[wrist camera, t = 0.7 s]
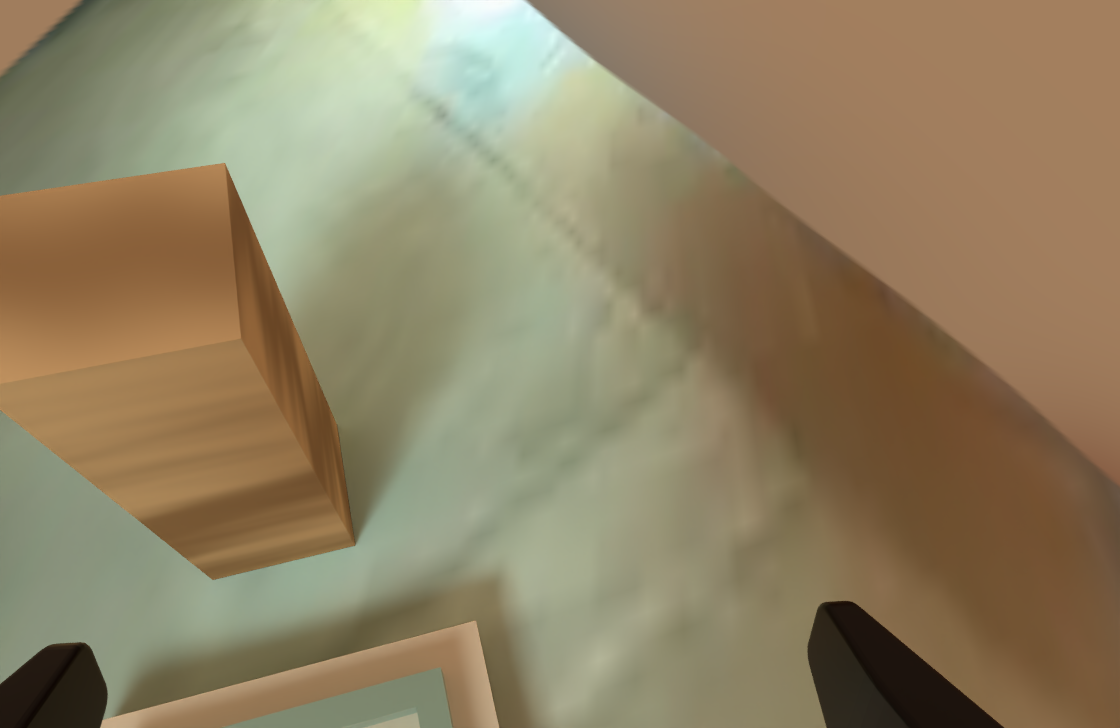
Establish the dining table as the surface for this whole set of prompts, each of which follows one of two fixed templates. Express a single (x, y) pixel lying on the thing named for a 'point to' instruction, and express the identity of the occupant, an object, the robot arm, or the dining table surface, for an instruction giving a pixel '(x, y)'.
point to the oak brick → (169, 367)
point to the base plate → (350, 691)
